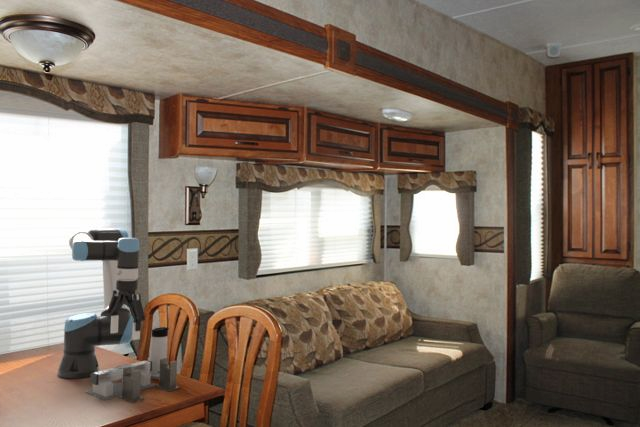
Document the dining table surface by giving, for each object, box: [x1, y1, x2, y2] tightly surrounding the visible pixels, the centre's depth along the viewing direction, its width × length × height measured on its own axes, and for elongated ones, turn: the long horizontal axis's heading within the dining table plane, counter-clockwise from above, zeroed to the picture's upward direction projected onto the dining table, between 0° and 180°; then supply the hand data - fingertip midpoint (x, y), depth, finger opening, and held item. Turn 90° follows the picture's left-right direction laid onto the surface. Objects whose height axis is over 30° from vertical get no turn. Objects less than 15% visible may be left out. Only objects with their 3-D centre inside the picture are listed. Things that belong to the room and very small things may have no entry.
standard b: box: [154, 357, 181, 393], centre depth 207 cm, size 8×5×10 cm, turn 54°
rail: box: [89, 359, 152, 385], centre depth 204 cm, size 4×24×4 cm, turn 145°
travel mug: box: [149, 326, 169, 380], centre depth 220 cm, size 6×7×20 cm
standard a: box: [117, 366, 145, 404], centre depth 194 cm, size 8×5×10 cm, turn 54°
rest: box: [85, 372, 158, 401], centre depth 204 cm, size 12×22×5 cm, turn 144°
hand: (124, 336), depth 205 cm, fingers open, 13 cm apart
